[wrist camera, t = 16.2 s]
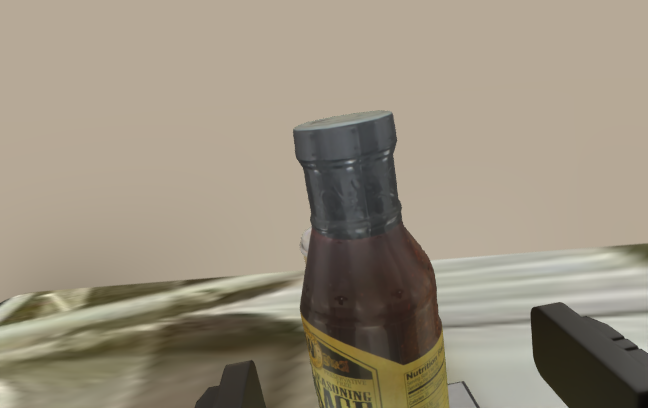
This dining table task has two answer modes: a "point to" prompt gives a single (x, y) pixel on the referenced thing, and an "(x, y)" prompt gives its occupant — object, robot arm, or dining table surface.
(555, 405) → the dining table surface
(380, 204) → the sauce bottle
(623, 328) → the dining table surface
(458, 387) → the kitchen scale
